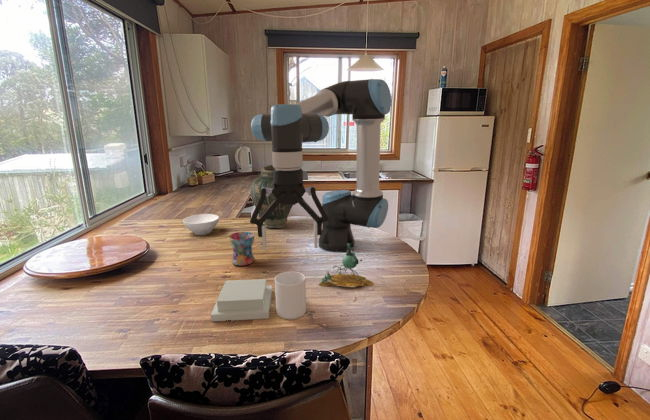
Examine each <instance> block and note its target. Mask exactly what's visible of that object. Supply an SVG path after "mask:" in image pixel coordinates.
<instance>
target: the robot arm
mask: <svg viewBox="0 0 650 420" xmlns="http://www.w3.org/2000/svg"><path fill="white" fill-rule="evenodd" d="M391 108H392V94H391V90H390V87H389V85H388V83H387V82H386V81H385V80H384V79H378V78H377V79H375V78H371V79H358V80H346V81H340V82H337V83H334V84H332V85H330V86H327V87H324V88H322V89H320V90H318V91H317V92H316V93H315V95H313V96H310V97H307V98H305V99H303V100H301V101H299V102H296V103H292V104H291V103H285V104H284V103H283V104H282V103H281V104H280V103H279V104H273V105H272V106H271V108H270V113H261V114H257V115H255V116H254V117H253V118H252V120H251V124H250V128H251V133H252V135H253V137H254V138H255V139H256V140H259V141H264V142H271V144H272V145H271V147H272V148H271V155H272V156H271V157H272V158H271V159H272V165H273V167H274V168H275V169H274V170H273V182H274V186H273V189H272V188H266V187H263V188H262V190H261V198H260V200H259V202H258V204H257V207H255V209H254V212H253V213H252V216H251V218H250V220H249V224H251V225H253V224H254V225H256V226H257V236H258V238H262V240H261V241H262V250H263V251H266V250H267V247H268V245H267V227H266V223H264V221H265V220H266V219H267V218H268V216H269V215H270V214H271V213H272V212H273V210H274V209H275V208H276V207H277V206H278V205H279V203H281V204H283V205H288V204H291V205H293V206H294V205H296V204H298V205H300V207H302V208H303V209H304V210H305V212H306V213H307V214H308V215H309V216H310V217H311V218H312V219H313V245H314V249H318V247H319V248H320V249H322V250H324V251H328V252H347V251H348V247H347V243H350V247H351V250H353V249H354V247H355V238H354V235H353V232H352V228H351V225H354V226H359V227H363V228H367V229H369V228H371V229H377V228H380V227H381V226H382V225H383V224H384V222H385V221H386V218H387V215H388V211H389V201H388V199H386V198H385V197H384V192H383V191H382V190H381V189H380V168H381V167H380V161H381V160H380V159H381V157H380V156H381V124H382V123H383V122H384V121H385V120H386V115H387V114H389V113H390V111H391ZM334 115H335V116H336V115H351V116H352V117H351V118H352V121H353V122H354V123H355V125H356V188H355V190H353V192H352V191H351V190H349V189H338V190H331V191H328V192H325V193H324V194H322V201H320V199H319V198H318V195H317V193H316V190H317V189H316V187H315V186H314V185H311V186H308V187H304V177H303V176H304V170H303V169H302V167H303V166H304V164H303V163H304V161H303V158H304V157H303V143H317V142H321V141H323V140H324V139H326V137H327V136H328V134H329V131H330V124H329V122H328V119H327V118H328V117H332V116H334ZM326 117H327V118H326ZM270 193H272V194H273V195H274V196H275V198H276V199H275V200H274V201H273V203H272V204H271V205H270V206H269V208H268V209H267V210H266V211H265V212H264V214H263V215H262V216H260V217H259V218H258V216H259V215H260V214H259V212H260V209H261V207H262V205H263V203H264V201H265V198H266V197H268V196H269V194H270ZM305 193H307V194H308V196H311V198H312V201H313V202H314V205H315V206H316V208H317V210H318V211H319V214H320V215H321V216H319V215H318V214H317V213H316V211H315V210H313V208H312V207H311V206H310V205H309V204H308V203H307V201H306V200H305V199H304V198H303V196H304V195H305ZM318 236H319V238H318Z"/></svg>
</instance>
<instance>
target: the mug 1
mask: <svg viewBox="0 0 650 420" xmlns="http://www.w3.org/2000/svg"><path fill="white" fill-rule="evenodd" d="M227 238H228V240H229V241H230V244H231V246H232V251H233V254H232V259H231V264H233V265H236V266H240V267H241V266H247V265H250V264H253V263H254V262H255V260H256V258H255V256H254V254H253V244H254V241H255V233H254V232H251V231H237V232H234V233H230V234H229V235H228V237H227Z"/></svg>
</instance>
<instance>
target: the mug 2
mask: <svg viewBox="0 0 650 420" xmlns="http://www.w3.org/2000/svg"><path fill="white" fill-rule="evenodd" d="M306 283H307V280H306V276H305V274H304V273H302V272H299V271H290V270H289V271H283V272H280V273H278V274H276V275H275V277H274V292H275V293H274V294H275V309H276V310H275V311H276V314H277V315H278V316H279V317H280V318H281V319H284V320H295V319H299V318H301V317H303V316H304V315H305V313H306V312H307V311H306V310H307V297H306V296H307V292H306V291H307V288H306V287H307V286H306V285H307V284H306Z"/></svg>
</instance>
